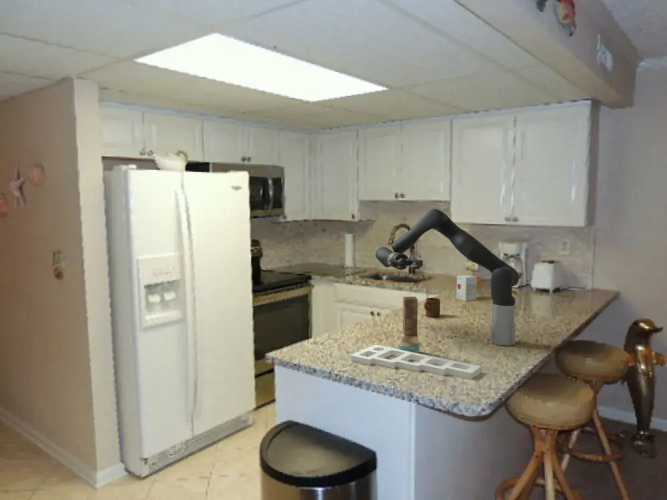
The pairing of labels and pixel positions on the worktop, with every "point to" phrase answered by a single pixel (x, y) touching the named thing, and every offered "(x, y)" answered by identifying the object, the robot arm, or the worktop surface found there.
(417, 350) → the tower base
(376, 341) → the worktop surface
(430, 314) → the mug
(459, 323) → the worktop surface
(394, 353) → the holder
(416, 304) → the walnut column
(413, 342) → the tower mid
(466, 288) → the supplement box
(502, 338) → the robot arm
